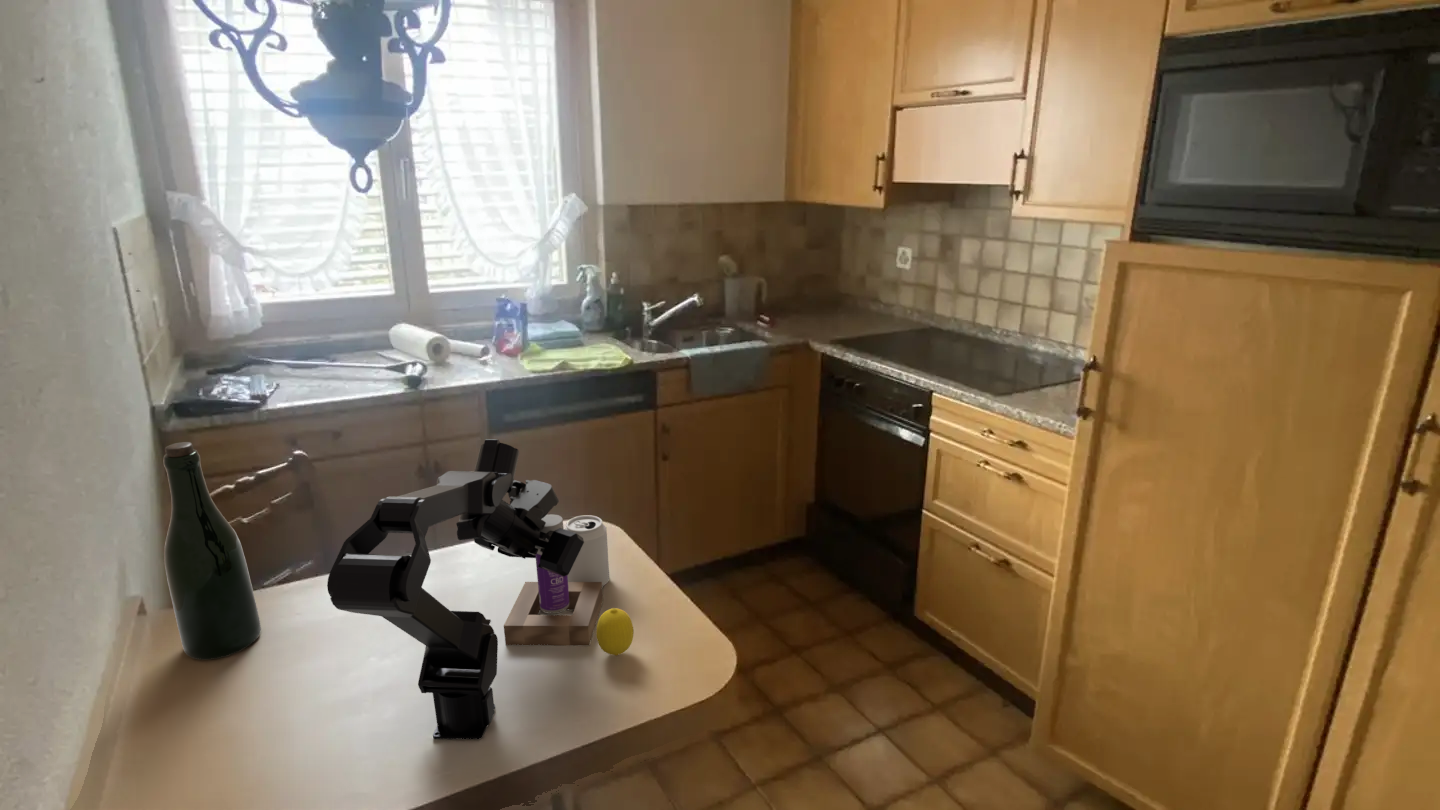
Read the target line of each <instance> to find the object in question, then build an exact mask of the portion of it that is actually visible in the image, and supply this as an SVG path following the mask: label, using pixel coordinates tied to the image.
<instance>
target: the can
mask: <svg viewBox="0 0 1440 810" xmlns="http://www.w3.org/2000/svg"><path fill="white" fill-rule="evenodd" d="M564 529H565V530H568V531H571V532H574V533H577V534H578V535H580V536H581V537H582V538H583V540H584V544H583V546H582V548H581V550H580V552H579V554H578V556H577V558H576V560H575V562H574V564H573V566H572V568H571V570H570V572H569V574H568V582H602V588H603V587H604V586H605V585H606V584H608V583H609V581H610V567H609V565H610V564H609V562H610V561H609V545H608V533H607V526H606V525H605V524H603V520H602V518H600V517H598V516H596V515H591V514H589V515H588V514H587V515H586V514H585V515H577V516H575V517H572V518H570V519H569V520H567V522H566V525H565V528H564Z"/></svg>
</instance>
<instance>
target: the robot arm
mask: <svg viewBox="0 0 1440 810" xmlns="http://www.w3.org/2000/svg"><path fill="white" fill-rule="evenodd" d="M519 456H520V450H519V449H518V448H516V447H514V446H512V445H509V444H507V443H503V442H500V440H499V439H498V438H497V439H493V438H490V439H489V438H485V439H484V442H483V443H482V444H481V445H480V447H479V450H478V454H477V458H476V463H475V465H474V470H473V471H471V470H470V471H469V470H468V471H467V470H466V471H464V470H448V471H446V472H445V473H443V474H442V475H440V476H439V477H438V478H437V479H436V485H432V486H430V487H425V488H423V489H418V490H415V491H411V492H408V493H405V494H400V495H398V496H387V497H385V498H381V499H380V500H379V501H378V502H377V504H376V505H375V507H374V509H373V513H372V514H371V516H370V518H369V519H368V520H366V521H365V523H363V524H362V525H361V526H360V527H359V528H358V529H356V530H355V531H353V533H352V534H351V535H349V536H348V537H347V538H346V539H345V540H344V541H343V543H342V546H341V548H340V550H339V552H338V554H337V556H336V559H335V560H334V562H333V565H332V567H331V568H330V569H331V570H330V572H329V575H328V578H327V587H326V588H327V592H328V595H329V596H330V597H329V598H330V601H331V603H332V605H333V606H334V608H336V609H337V610H339V611H340V610H341V611H344V612H348V613H354V614H363V615H370V616H378V617H382V618H383V619H385V620H386V621H388V622H389V623H391V624H392V625H393V626H395V627H396V628H399V630H402V631H403V632H404V633H406V634H408V635H409V636H410V637H412V638H413V639H415V640H417V641H418V642H420V643H421V644H423V645H424V646H425V647H424V648H425V649H424V654H423V659H422V664H421V668H420V672H419V673H420V674H419V676H418V682H417V685H418V686H417V687H418V689H419V690H420V692H421V694H427V693H430V694H432V696H433V697H432V699H433V704H434V712H435V718H436V724H437V725H436V727H435V729H434V731H433V733H432V737H433V739H434V740H481V739H482V738H483V737H484V735H485V733H486V731H487V728H488V727H489V726H490V724H491V722H492V720H493V717H494V716H495V713H496V703H495V702H494V701H495V700H494V692H493V688H492V687H491V685H492V683H493V682H494V680H495V678H496V676H497V673H498V652H499V651H498V650H499V647H498V646H499V645H498V643H499V642H498V641H499V640H498V635H497V634H496V633H495V630H494V628H493V627H492V625H490V624H491V622H492V620H491V619H487V618H486V616H485V615H484V614H483V613H481V612H480V611H468V610H467V611H466V610H465V611H464V610H450V609H449V608H448V607H446V606H445V605H444V604H443V603H441V602H440V601H439V600H437V599H436V598H435V597H434V596H433V595H431V593H429V592H428V591H426V590H425V589H424V588H423V585H424V581H425V579H426V577H427V573H428V571H429V568H430V565H431V561H432V559H431V556H430V552H429V549H428V546H427V541H426V539H425V538H426V536H427V533H428V530H429V528H430V527H433V526H437V524H441V523H443V522H446V521H447V520H450V519H451V520H452V518H453V519H454V518H456V517H458V516H459V518H458V519H459V520H458V521H457V522H456V527H457V531H456V536H457V539H458V541H467V540H472V539H473V540H474V541H473V542H474V544H476V545H479V547H482V548H483V549H488V550H489V551H492V552H493V551H494V550H495V548H496V547H497V552H498V553H499V554H500V555H504V556H507V557H511V558H522V559H526V558H527V559H536V554H537V552H538V549H537V548H535V547H538V548H541V550H540V552H542V555H541V557H540V563H539V565H538V567H539V568H542V569H545V570H548V571H550V572H553V573H555V574H558V575H561V576H566V575H568V574H569V572H570V570H571V568H572V566H573V564H574V562H575V560H576V558H577V556H578V554H579V552H580V550H581V548H582V546H583V544H584V540H583V538H582V537H581V536H580V535H578V534H577V533H574V532H571V531H568V530H565V528H564V529H562V528H559V529H557V530H555V531H548V532H547V533H543V532H540V530H543V528H544V526H545V524H546V522H545V521H543V520H542V518H544V517H545V516H546V515H549V512H550V511H552V509H553V508H554V507H556V506H557V505H558V503H559V502H560V499H559V498H558V496H557V494H556V492H555V490H554V488H553V485H552V484H550V483H547V482H543V481H539V480H537V479H532V480H529V479H526V480H525V483H524V482H522V481H520V480H516V479H515V475H516V471H517V467H518V466H517V465H518V462H519ZM507 493H508V498H509V500H510V501H509V503H508V502H506V501H505V500H504V497H505V495H506V494H507ZM388 534H412V535H413V536H412V537H413V538H414V539H413V540H414V543H415V545H414V547H413V550H412V552H411V555H409V554H408V555H407V554H385V553H384V554H378V553H377V554H376V553H371V552H373V550H374V549H375V548H377V547H378V546H379V545H380V544H381V543H382V542H384V541H385V540H386V538H387V537H388ZM540 539H542V540H540ZM546 539H547V540H546ZM543 540H545V541H543Z"/></svg>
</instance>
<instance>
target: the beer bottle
mask: <svg viewBox="0 0 1440 810" xmlns="http://www.w3.org/2000/svg"><path fill="white" fill-rule="evenodd" d="M164 451H165V454H164V455H163V462H162V463H163V466H164V468H165V471H166V474H167V480H168V485H169V491H170V497H171V498H170V499H171V500H170V501H171V513H170V521H169V525H168V530H167V532H166V533H167V535H166V538H165V544H164V547H163V549H164V550H163V551H164V555H163V556H164V557H163V559H164V561H163V562H164V568H165V574H166V579H167V585H168V589H169V594H170V599H171V602H172V607H173V611H174V616H175V620H176V625H177V630H178V633H179V637H180V641H181V645H182V648H183V652H184V653H185V654H186V656H188V657H189V658H192V659H194V660H195V659H196V660H201V661H202V660H203V661H204V660H207V661H208V660H216V659H221V658H224V657H227V656H231V655H234V654H236V653H239V652H240V651H242V650H244V649H245V648H247V647H248V646H250V645H251V644H253V643H254V642H255V641H256V640H257V639H258V637H259V636H260V634H261V632H262V626H261V620H260V619H261V618H260V615H259V611H258V606H257V601H256V597H255V592H254V589H253V585H252V580H251V577H250V573H249V569H248V564H247V559H246V557H245V554H244V553H245V552H244V550H243V547H242V543H241V540H240V539H239V536H238V535H237V532H236V531H235V529H234V528H233V527H232V525H231V524H230V522H229V521H228V520H227V519H226V518H225V516H223V514H222V512H221V511H220V509H218V506H217V505H216V504H215V502H214V501H213V499H212V496H211V494H210V491H209V489H208V486H207V483H206V479H205V477H204V473H203V470H202V464H201V455H200V454H199V452H198V450H197V449H194V445H193V443H192V442H191V441H182V442H181V441H180V442H176V443H171V444H170V445H167V446H165V448H164Z"/></svg>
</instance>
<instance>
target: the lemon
mask: <svg viewBox="0 0 1440 810" xmlns="http://www.w3.org/2000/svg"><path fill="white" fill-rule="evenodd" d="M599 616H600V617H598V619H597V622H596V634H595V635H596V640H597V644H598V646H599V648H600V649H601V650H602V651H603V652H605V653H606V654H608V655H611V656H615V657H617V656H619V655H621V654H623V653H625V652H626V651H628V650H629V648H630V646H631V645H632V643H633V639H634V626H633V621H632V619H631V617H630V615H629V614H628V613H627V612H626V611H625V610H623V609H620V608H617V607H616V608H615V607H612V608H609V609H607V610H606V611H605V610H604V612H603V613H602V614H601V615H599Z"/></svg>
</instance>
